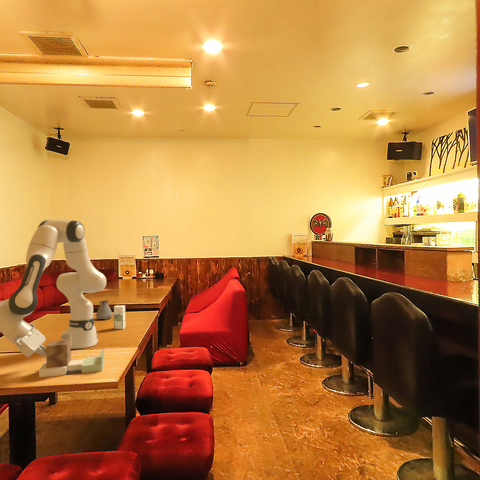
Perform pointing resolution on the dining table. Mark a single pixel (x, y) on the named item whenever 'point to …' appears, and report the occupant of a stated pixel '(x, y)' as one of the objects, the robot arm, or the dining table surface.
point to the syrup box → (119, 317)
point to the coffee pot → (104, 310)
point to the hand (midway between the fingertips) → (46, 354)
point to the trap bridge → (75, 366)
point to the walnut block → (58, 353)
